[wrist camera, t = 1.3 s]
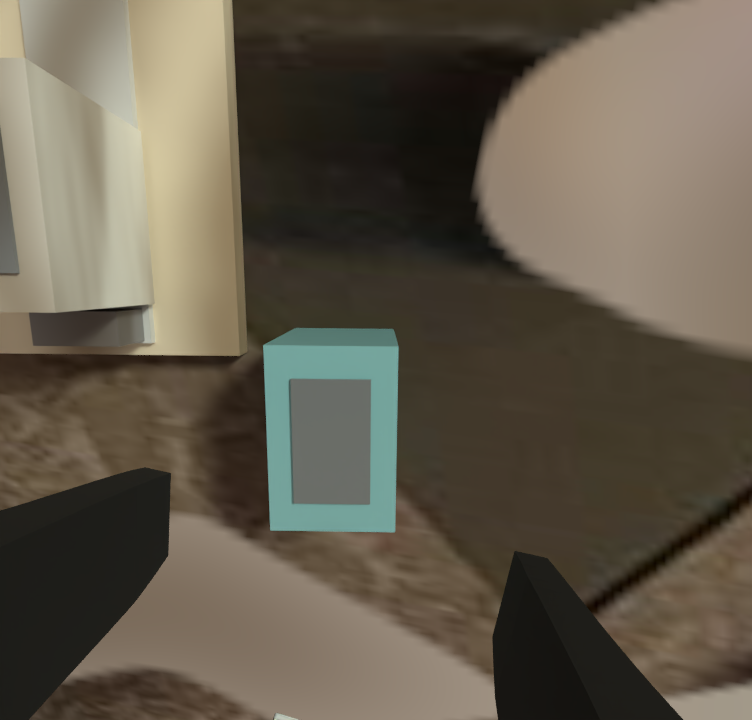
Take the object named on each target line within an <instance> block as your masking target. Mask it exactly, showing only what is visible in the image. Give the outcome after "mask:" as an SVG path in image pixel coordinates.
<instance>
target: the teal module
mask: <svg viewBox="0 0 752 720" xmlns="http://www.w3.org/2000/svg"><path fill="white" fill-rule="evenodd" d="M263 351H264V377H265V404H266V430H267V457H268V484H269V510H270V530H273V531H344V532H395V505H396V450H397V396H398V343H397V340H396V336H395V333H394V329H339V328H295V329H293V330H291V331H289V332H287V333H285V334H283V335H282V336H280V337H278V338H276V339H274V340H272V341H270V342H268V343H267V344H265V345H263Z"/></svg>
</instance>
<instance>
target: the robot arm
mask: <svg viewBox="0 0 752 720" xmlns="http://www.w3.org/2000/svg"><path fill="white" fill-rule="evenodd" d="M170 480H171V473H167V472H163V471H158V470H154V469H150V468H145V467H144V468H140V469H136V470H131V471H127V472H124V473H120V474H117V475H113V476H110V477H107V478H104V479H100V480H97V481H94V482H91V483H88V484H84V485H81V486H78V487H75V488H72V489H69V490H66V491H62V492H59V493H56V494H53V495H50V496H47V497H44V498H40V499H37V500H34V501H31V502H28V503H25V504H21V505H18V506H15V507H11V508H8V509H4V510H1V511H0V720H29V719H30V718H31V716H32V715H33V714H34V713H35V712H36V711H37V710H38V709H39V707H40V706H41V705H42V704H43V703H44V702H45V701H46V700H47V699H48V698H49V696H50V695H51V694H52V693H53V692H54V691H55V690H56V689H57V688H58V687H59V685H60V684H61V683H62V682H63V681H64V680H65V679H66V678H67V677H68V676H69V675H70V673H71V672H72V671H73V670H74V669H75V668H76V667H77V666H78V664H80V662H81V661H82V660H83V659H84V658H85V657H86V656H87V655H88V654H89V652H90V651H91V650H92V649H93V648H94V647H95V646H96V645H97V644H98V643H99V642H100V640H101V639H102V638H103V637H104V636H105V635H106V634H107V633H108V632H109V631H110V629H111V628H112V627H113V626H114V625H115V624H116V623H117V622H118V620H119V619H120V618H121V617H122V616H123V615H124V614H125V613H126V612H127V610H128V609H129V608H130V607H131V606H132V605H133V604H134V602H135V601H136V600H137V598H138V597H139V596H140V595H141V593H142V592H143V591H144V589H145V588H146V586H147V585H148V584H149V582H150V581H151V580H152V578H153V577H154V575H155V574H156V572H157V571H158V570H159V568H160V567H161V565H162V564H163V562H164V561H165V559H166V558H167V557H168V544H169V512H170ZM493 665H494V686H495V700H496V707H497V714H498V720H683V719H682V718H681V717H680V716H679V715H678V713H677V712H676V711H675V710H674V709H673V708H672V707H671V706H670V705H669V703H668V702H667V701H666V700H665V699H664V698H663V697H662V696H661V695H660V694H659V692H658V691H657V690H656V689H655V688H654V687H653V686H652V685H651V683H650V682H649V681H648V680H647V679H646V678H645V677H644V675H643V674H642V673H641V672H640V671H639V670H638V669H637V667H636V666H635V665H634V664H633V663H632V662H631V660H630V659H629V658H628V657H627V656H626V654H625V653H624V652H623V651H622V650H621V649H620V647H619V646H618V645H617V644H616V642H615V641H614V640H613V639H612V638H611V636H610V635H609V634H608V633H607V632H606V630H605V629H604V628H603V627H602V625H601V624H600V623H599V622H598V621H597V619H596V618H595V617H594V616H593V614H592V613H591V612H590V611H589V609H588V608H587V607H586V606H585V604H584V603H583V602H582V601H581V599H580V598H579V597H578V596H577V594H576V593H575V592H574V591H573V589H572V588H571V587H570V585H569V584H568V583H567V582H566V580H565V579H564V578H563V577H562V575H561V574H560V573H559V572H558V570H557V569H556V568H555V567H554V566H553V564H552V563H551V562H550V561H549V560H548V559H547V558H544V557H539V556H535V555H531V554H526V553H522V552H517V551H515V552H514V556H513V559H512V563H511V567H510V571H509V575H508V579H507V583H506V587H505V591H504V594H503V598H502V602H501V606H500V610H499V614H498V618H497V622H496V625H495V629H494V633H493Z"/></svg>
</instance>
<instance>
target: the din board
mask: <svg viewBox="0 0 752 720" xmlns="http://www.w3.org/2000/svg"><path fill="white" fill-rule="evenodd" d="M246 352H247V329H246V307H245V284H244V261H243V239H242V216H241V193H240V170H239V148H238V125H237V102H236V79H235V57H234V34H233V11H232V0H0V353H13V354H106V355H200V356H240V355H242V354H244V353H246Z"/></svg>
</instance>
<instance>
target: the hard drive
mask: <svg viewBox="0 0 752 720" xmlns="http://www.w3.org/2000/svg"><path fill="white" fill-rule="evenodd" d="M273 720H299V719H296V718H292V717H289V716H286V715H283V714H279V713H275V714H274V717H273Z"/></svg>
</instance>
